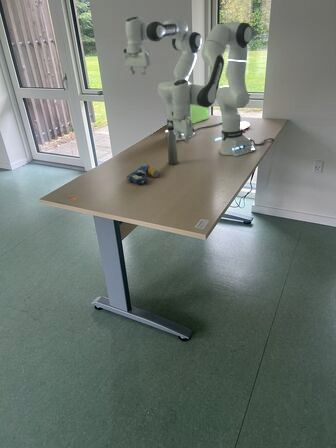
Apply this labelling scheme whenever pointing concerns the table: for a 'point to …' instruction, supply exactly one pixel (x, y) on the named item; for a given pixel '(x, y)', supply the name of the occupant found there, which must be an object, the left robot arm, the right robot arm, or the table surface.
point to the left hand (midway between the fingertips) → (138, 74)
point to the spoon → (244, 125)
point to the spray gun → (142, 174)
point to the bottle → (172, 147)
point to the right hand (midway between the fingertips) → (183, 140)
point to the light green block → (198, 113)
